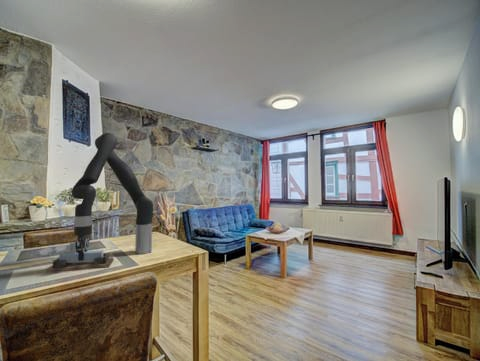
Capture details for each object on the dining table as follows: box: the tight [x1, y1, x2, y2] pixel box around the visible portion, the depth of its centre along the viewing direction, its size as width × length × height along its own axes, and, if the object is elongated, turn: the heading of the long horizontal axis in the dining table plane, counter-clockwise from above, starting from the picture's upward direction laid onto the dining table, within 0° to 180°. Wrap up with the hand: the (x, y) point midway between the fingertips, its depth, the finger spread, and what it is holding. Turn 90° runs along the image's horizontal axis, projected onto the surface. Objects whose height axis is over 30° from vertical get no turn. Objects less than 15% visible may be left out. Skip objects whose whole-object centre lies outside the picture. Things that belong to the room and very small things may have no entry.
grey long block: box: [58, 250, 105, 263], centre depth 115 cm, size 18×4×4 cm, turn 108°
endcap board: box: [45, 252, 114, 274], centre depth 115 cm, size 26×10×4 cm, turn 108°
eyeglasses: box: [38, 244, 69, 257], centre depth 135 cm, size 14×8×4 cm, turn 148°
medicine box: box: [69, 241, 89, 253], centre depth 130 cm, size 8×4×9 cm, turn 168°
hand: (82, 258), depth 115 cm, fingers closed on grey long block, 3 cm apart
